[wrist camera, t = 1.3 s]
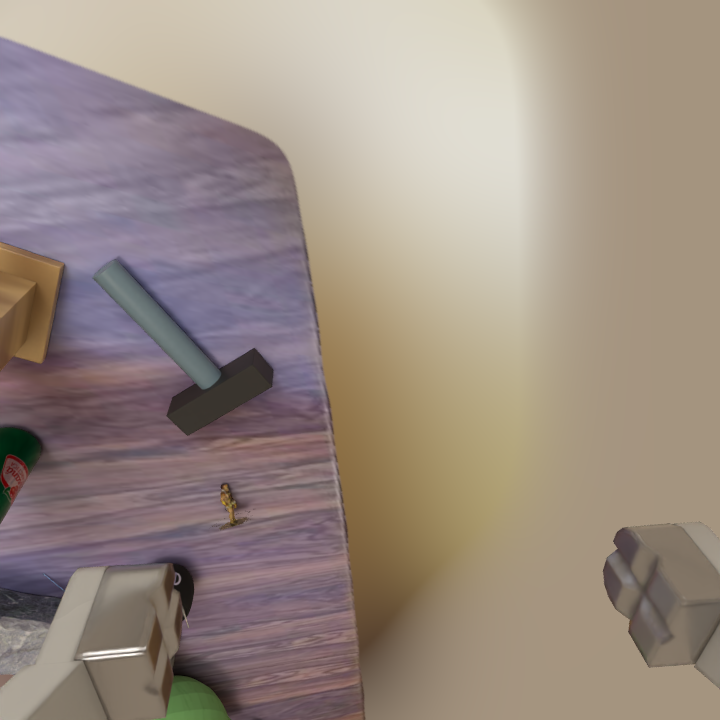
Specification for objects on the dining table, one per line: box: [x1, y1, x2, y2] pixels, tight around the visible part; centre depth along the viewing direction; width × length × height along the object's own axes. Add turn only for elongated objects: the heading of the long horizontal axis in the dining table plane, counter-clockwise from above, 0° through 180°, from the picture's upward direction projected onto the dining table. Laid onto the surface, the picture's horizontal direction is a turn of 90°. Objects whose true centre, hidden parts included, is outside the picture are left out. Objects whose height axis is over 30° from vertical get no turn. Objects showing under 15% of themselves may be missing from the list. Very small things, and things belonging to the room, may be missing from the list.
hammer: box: [93, 260, 273, 436], centre depth 48 cm, size 16×10×3 cm, turn 31°
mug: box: [173, 564, 194, 627], centre depth 63 cm, size 12×6×8 cm, turn 91°
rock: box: [0, 589, 62, 675], centre depth 61 cm, size 15×8×10 cm, turn 64°
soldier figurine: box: [210, 484, 254, 531], centre depth 59 cm, size 2×1×4 cm
